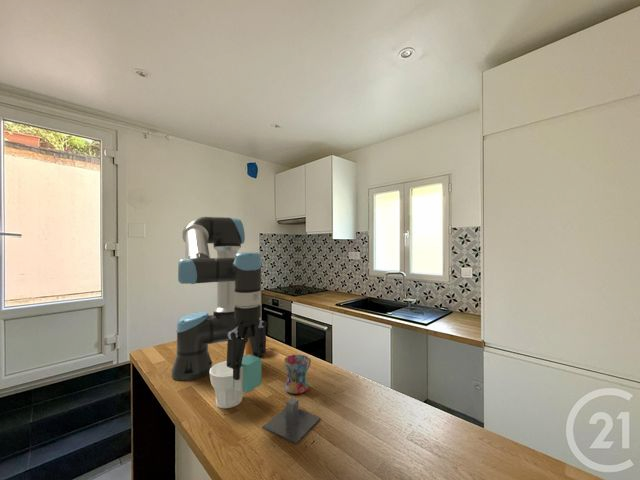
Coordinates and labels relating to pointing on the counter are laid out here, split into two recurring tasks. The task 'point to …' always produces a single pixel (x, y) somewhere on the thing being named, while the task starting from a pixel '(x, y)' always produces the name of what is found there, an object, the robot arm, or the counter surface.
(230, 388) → the cup
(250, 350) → the mug
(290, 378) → the mug
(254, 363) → the teal block
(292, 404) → the grey square tile
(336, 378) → the counter surface
